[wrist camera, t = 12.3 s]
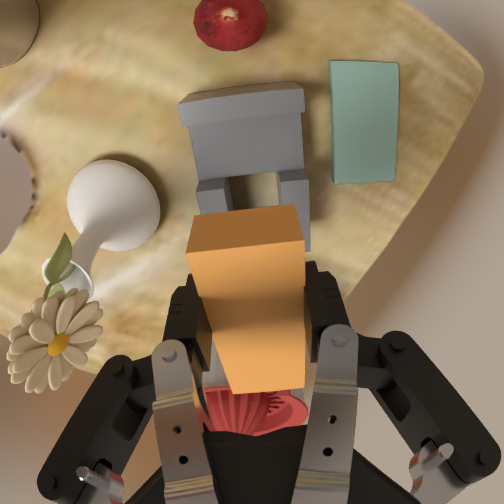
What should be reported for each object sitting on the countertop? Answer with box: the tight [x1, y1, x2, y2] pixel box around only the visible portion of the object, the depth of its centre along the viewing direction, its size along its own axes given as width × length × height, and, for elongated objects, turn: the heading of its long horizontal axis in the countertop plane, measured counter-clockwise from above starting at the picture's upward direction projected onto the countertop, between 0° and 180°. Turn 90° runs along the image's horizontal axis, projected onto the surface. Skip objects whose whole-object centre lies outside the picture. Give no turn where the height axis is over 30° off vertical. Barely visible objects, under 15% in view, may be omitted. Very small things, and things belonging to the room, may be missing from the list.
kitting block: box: [177, 81, 310, 252], centre depth 30 cm, size 16×10×6 cm, turn 7°
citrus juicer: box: [202, 337, 308, 436], centre depth 36 cm, size 16×17×20 cm
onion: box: [193, 0, 267, 51], centre depth 20 cm, size 6×6×8 cm
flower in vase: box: [7, 160, 160, 393], centre depth 24 cm, size 13×11×25 cm
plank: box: [186, 204, 305, 394], centre depth 15 cm, size 10×4×2 cm, turn 7°
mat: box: [328, 61, 399, 184], centre depth 29 cm, size 13×7×1 cm, turn 7°
